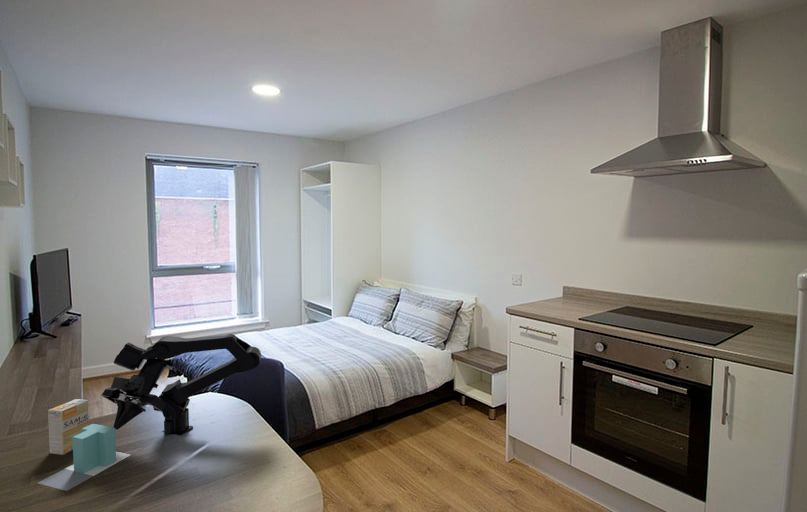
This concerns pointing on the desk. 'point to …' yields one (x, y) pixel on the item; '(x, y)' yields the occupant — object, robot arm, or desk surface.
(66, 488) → the board
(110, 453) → the t block
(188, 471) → the desk surface
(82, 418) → the supplement box
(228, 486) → the desk surface
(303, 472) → the desk surface
